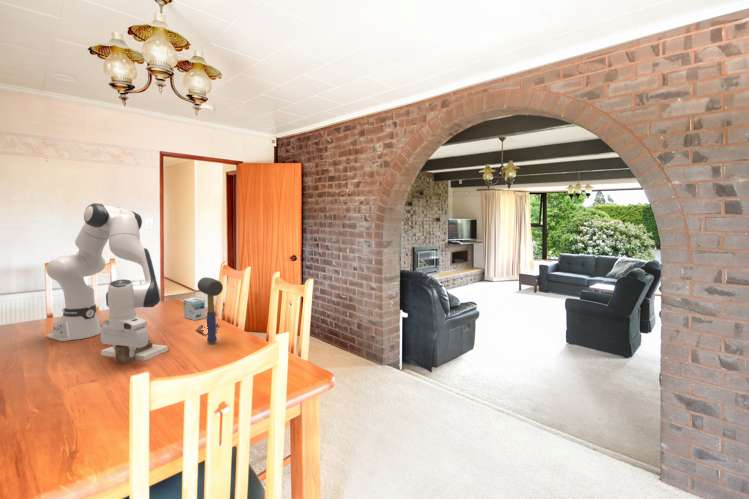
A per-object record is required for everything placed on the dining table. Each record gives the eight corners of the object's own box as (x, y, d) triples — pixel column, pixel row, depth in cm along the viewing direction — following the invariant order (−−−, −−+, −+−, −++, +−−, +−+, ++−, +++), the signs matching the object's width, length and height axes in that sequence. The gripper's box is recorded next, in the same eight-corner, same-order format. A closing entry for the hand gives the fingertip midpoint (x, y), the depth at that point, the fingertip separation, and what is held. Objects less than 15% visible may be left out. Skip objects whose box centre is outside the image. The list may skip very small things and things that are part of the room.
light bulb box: (206, 318, 210) (205, 299, 209) (194, 320, 205) (194, 301, 204) (194, 315, 216) (194, 296, 215) (183, 317, 210) (182, 299, 209)
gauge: (115, 364, 146) (114, 346, 145) (147, 351, 160) (146, 335, 159) (123, 365, 145) (122, 347, 144) (154, 352, 159) (153, 336, 158)
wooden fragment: (218, 335, 182) (218, 333, 181) (193, 338, 178) (193, 335, 178) (220, 321, 206) (220, 319, 205) (198, 323, 202) (198, 321, 202)
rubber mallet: (226, 344, 168) (224, 278, 165) (209, 348, 163) (206, 281, 160) (214, 338, 177) (212, 275, 174) (198, 341, 172) (195, 277, 169)
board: (101, 355, 155) (101, 350, 155) (127, 345, 166) (127, 341, 166) (144, 361, 149) (143, 356, 149) (167, 350, 161) (167, 346, 160)
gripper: (94, 321, 146) (97, 356, 147) (136, 326, 140) (138, 361, 142) (109, 317, 152) (112, 350, 153) (150, 321, 147) (152, 355, 148)
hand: (125, 355), depth 147 cm, fingers open, 4 cm apart
